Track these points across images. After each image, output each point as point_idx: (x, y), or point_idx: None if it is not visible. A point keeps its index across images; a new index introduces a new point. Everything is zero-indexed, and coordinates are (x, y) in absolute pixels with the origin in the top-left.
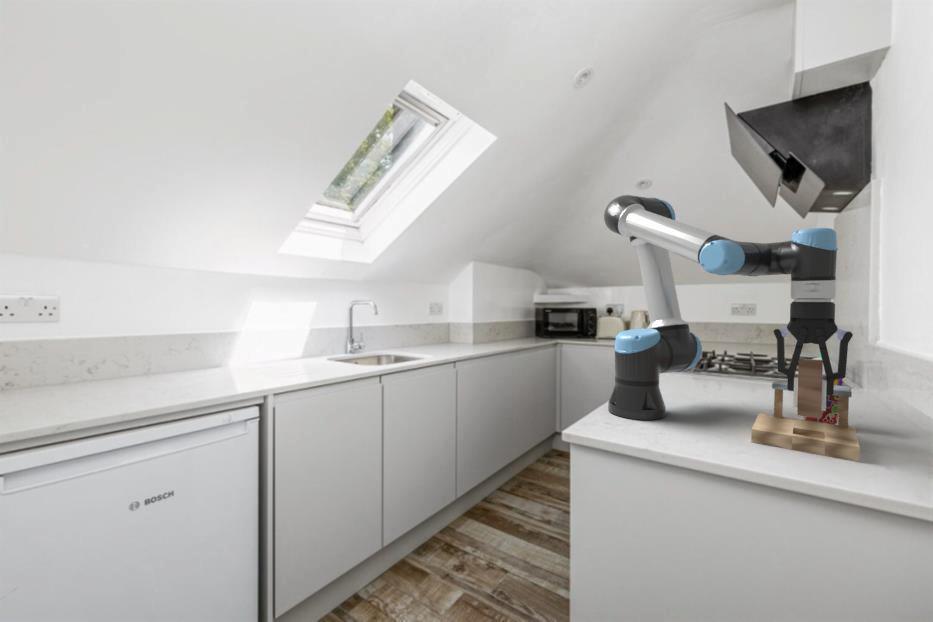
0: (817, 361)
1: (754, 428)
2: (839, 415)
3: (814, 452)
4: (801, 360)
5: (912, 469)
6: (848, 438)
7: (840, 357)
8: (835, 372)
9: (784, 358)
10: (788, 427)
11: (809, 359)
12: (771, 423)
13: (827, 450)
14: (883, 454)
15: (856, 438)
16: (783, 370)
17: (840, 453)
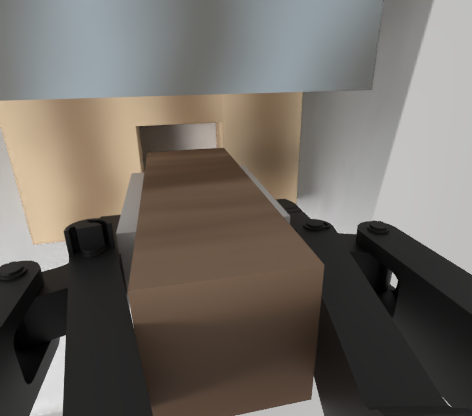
0: (280, 375)
1: (38, 232)
2: None
3: None
4: (169, 410)
5: (366, 177)
6: (279, 147)
7: (450, 394)
8: (353, 251)
9: (3, 382)
10: (121, 138)
11: (221, 297)
12: (60, 120)
13: None
14: (338, 92)
15: (298, 133)
16: (53, 345)
17: None
